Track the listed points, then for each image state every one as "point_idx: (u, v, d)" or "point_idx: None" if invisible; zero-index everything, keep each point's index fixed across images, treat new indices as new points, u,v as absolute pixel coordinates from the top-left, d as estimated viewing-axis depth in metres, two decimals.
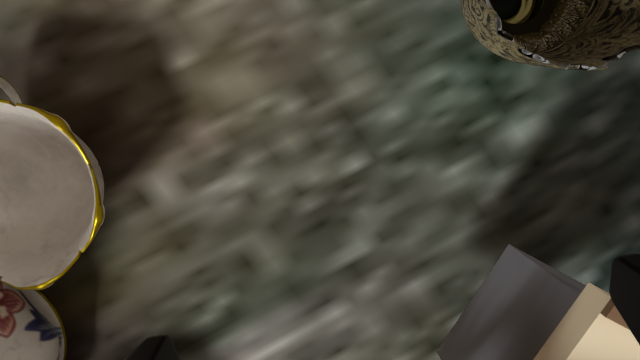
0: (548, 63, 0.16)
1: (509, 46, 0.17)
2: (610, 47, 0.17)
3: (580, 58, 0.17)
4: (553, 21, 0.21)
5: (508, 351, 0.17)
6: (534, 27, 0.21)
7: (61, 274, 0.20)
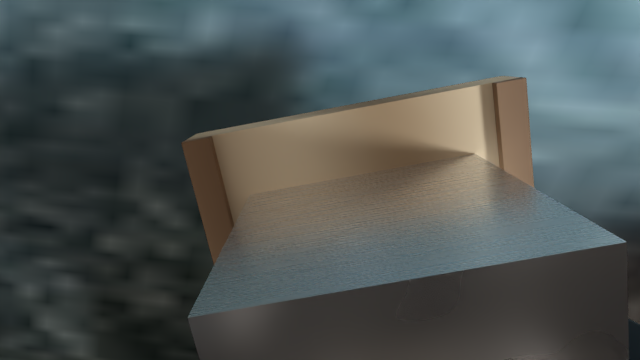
0: None
1: None
2: None
3: None
4: None
5: None
6: None
7: None
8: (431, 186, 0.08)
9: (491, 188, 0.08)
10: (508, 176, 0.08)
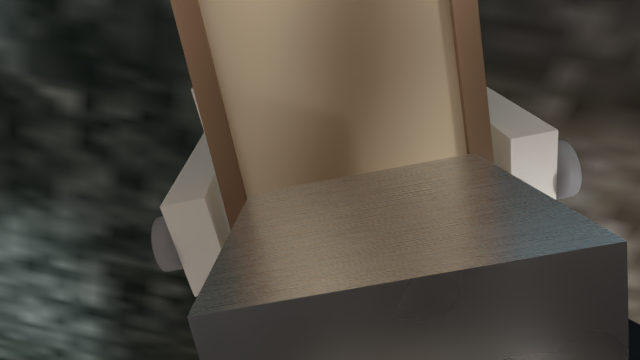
0: None
1: None
2: None
3: None
4: None
5: None
6: None
7: None
8: (431, 185, 0.08)
9: (491, 187, 0.08)
10: (508, 175, 0.08)
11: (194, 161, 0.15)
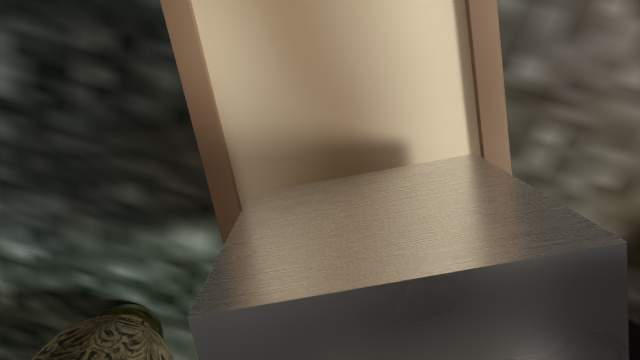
0: None
1: None
2: None
3: None
4: None
5: None
6: None
7: None
8: (431, 186, 0.08)
9: (491, 188, 0.08)
10: (508, 176, 0.08)
11: None
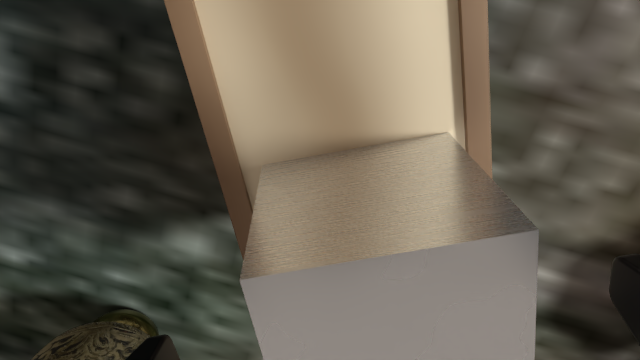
0: None
1: None
2: None
3: None
4: None
5: None
6: None
7: None
8: (411, 167, 0.10)
9: (456, 172, 0.10)
10: (470, 161, 0.10)
11: None
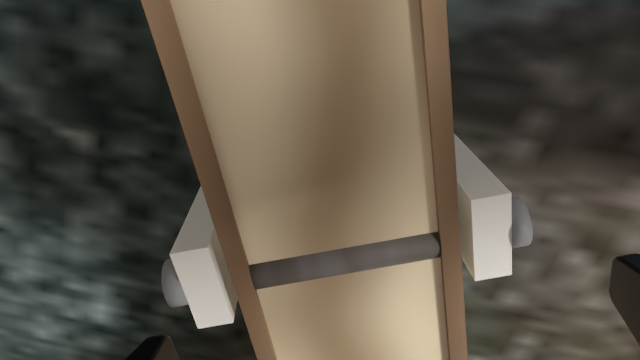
0: None
1: None
2: None
3: None
4: None
5: None
6: None
7: None
8: None
9: None
10: None
11: (198, 206, 0.16)
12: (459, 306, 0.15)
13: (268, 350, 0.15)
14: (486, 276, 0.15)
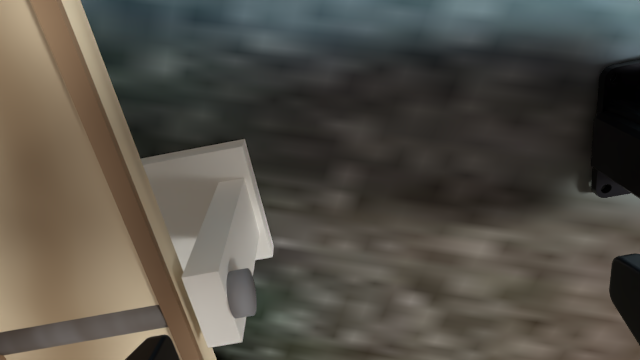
0: None
1: None
2: None
3: None
4: None
5: None
6: None
7: None
8: None
9: None
10: None
11: None
12: None
13: None
14: (221, 342, 0.16)
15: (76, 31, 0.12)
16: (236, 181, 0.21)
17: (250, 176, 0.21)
